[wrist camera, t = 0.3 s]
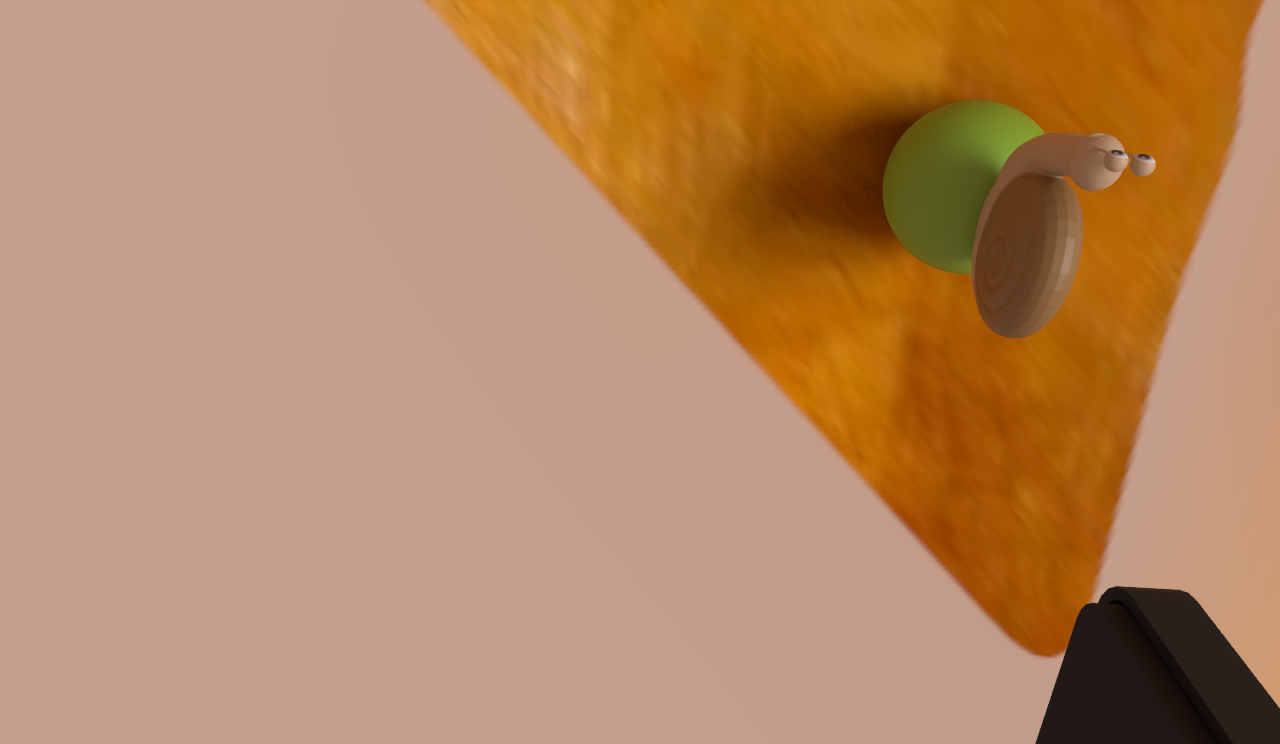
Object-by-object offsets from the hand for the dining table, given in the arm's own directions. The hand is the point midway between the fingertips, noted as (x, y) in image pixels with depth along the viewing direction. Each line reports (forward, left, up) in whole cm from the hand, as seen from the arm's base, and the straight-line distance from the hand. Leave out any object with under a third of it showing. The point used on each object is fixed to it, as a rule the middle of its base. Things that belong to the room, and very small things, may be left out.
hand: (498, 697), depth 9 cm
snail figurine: (+2, +13, -30) cm, 33 cm away
